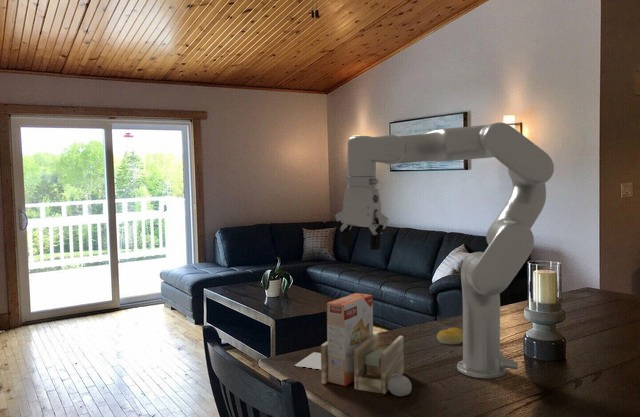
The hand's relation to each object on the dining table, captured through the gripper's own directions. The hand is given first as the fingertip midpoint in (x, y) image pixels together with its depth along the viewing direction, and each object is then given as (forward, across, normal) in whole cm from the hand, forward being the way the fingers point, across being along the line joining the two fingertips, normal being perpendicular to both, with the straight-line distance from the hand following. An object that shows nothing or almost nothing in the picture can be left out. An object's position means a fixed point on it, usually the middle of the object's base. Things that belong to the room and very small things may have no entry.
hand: (360, 247), depth 149 cm
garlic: (+34, -18, +6) cm, 38 cm away
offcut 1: (+28, -8, +2) cm, 30 cm away
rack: (+33, -4, +3) cm, 34 cm away
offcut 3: (+34, -8, +2) cm, 35 cm away
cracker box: (+34, -1, +4) cm, 34 cm away
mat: (+34, +13, +2) cm, 36 cm away
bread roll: (+33, -6, -39) cm, 51 cm away
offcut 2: (+31, -8, +2) cm, 32 cm away
